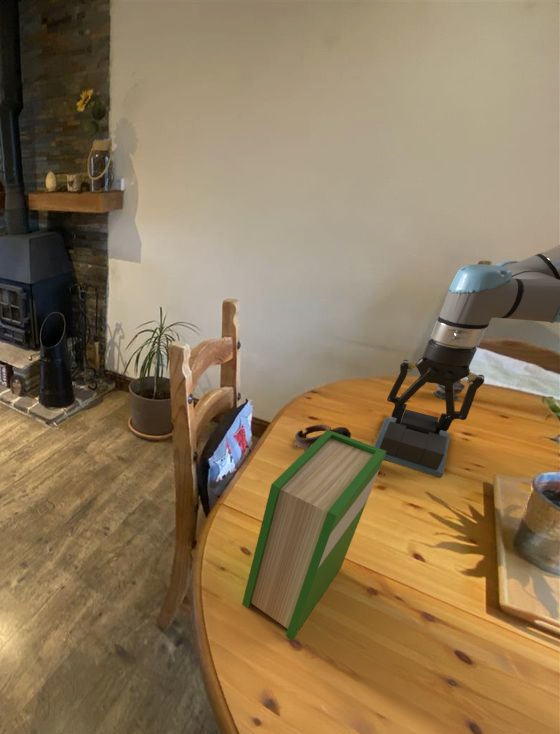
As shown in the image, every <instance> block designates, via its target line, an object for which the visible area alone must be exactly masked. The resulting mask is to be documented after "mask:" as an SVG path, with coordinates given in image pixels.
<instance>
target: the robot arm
mask: <svg viewBox="0 0 560 734" xmlns="http://www.w3.org/2000/svg"><path fill="white" fill-rule="evenodd" d="M446 294H447V295H446V296H445V299H444V302H443V305H442V308H441V310H440V313H439V315H438V317H437V320H436V321H435V324H434V327H433V329H432V332H431V334H430V338H431V339H428V341H427V344H426V346H425V349H424V351H423V354H422V356H421V357H420V358H418V360H417V361H416V360H415V361H414V360H413V361H409V360H408V359H403V360H402V361H401V363H400V365H399V374H398V376H397V378H396V380H395V382H394V384H393V385H392V388H391V389H390V392H389V393H388V396H387V397H386V401H387V402H389V403H392V404H393V405H394V408H393V410H392V413H391V415H392V417H394V418H397V419H396V422H395V423H398V424H399V423H400V421H401V418H402V417H403V414H404V412H405V409H407V405H408V404H407V402H408V401H409V400H410V399H411V398H412V397H413V396H414V395H415V394H416V393H417V392H418V391H419V390H420V389H421V388H422V387H423V386H425V384H427V383H428V384H436V385H437V384H439V385H442V386H445V395H446V400H445V413H443V412H441V414H440V417H439V418H438V423H437V427H436V431H435V434H439V432H440V430H442V431H447V432H448V431H449V429H450V426H451V425H452V422H453V421H454V420H460V421H466V419H468V415H469V413H470V410H471V407H472V405H473V402H474V399H475V396H476V393H477V391H478V389H479V388H481V386H482V385H483V384H484V383H485V375H484V374H476V373H474V372H471V369H470V365H471V363H472V361H473V359H474V358H475V355H476V353H477V350H478V348H477V347H478V346H480V344H481V342H482V339H483V337H484V335H485V333H486V332H487V331H486V330H487V329H488V327H489V325H490V322H491V321H492V319H495V318H496V319H506V320H521V321H532V322H545V323H550V324H555V323H558V324H559V323H560V244H558V245H555V246H553V247H551V248H549V249H546V250H544V251H542V252H539V253H537V254H534V255H532V256H530V257H527V258H525V259H523V260H519V261H516V260H508V261H502V262H499V263H497V264H483V263H481V264H480V263H476V264H475V263H474V264H467V265H464V266H462V267H460V268H459V269H458V271H457V272H456V274H455V276H454V278H453V280H452V282H451V284H450V286H449V287H448V291H447V293H446ZM414 368H417V370H418V373H419V374H420V375H419V376H418V377H417V379H416V380H415V381H414V382H412V384H411V385H410V386H409V387H408V388H407V389H406V390H405V391H404V392H403V393H402V394H401V395H400V396H397V394H399V391H400V389H401V387H402V385H403V384H404V382H405V380H406V377H407V376H408V372H409V373H411V372H412V371H413V370H414ZM464 378H467V381H466V383H467V384H468V387H467V390H466V392H465V395H464V398H463V401H462V404H461V407H460V410H456V403H455V401H456V400H455V401H454V383H455V382H457V381H459V380H461V381H462V380H463V379H464Z"/></svg>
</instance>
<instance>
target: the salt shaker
mask: <svg viewBox="0 0 560 734" xmlns="http://www.w3.org/2000/svg"><path fill="white" fill-rule="evenodd" d="M436 389H437V390H435V391H433V392H432V395H433V396H434V397H436V398H437V399H441V400H444V401H446V395H445V386H442V385H439V384H437V383H436ZM465 389H466V385H464V383H462V379H461V380H459V381H457V382H455V383H454V401H458V400H459V399H460V397H459V396H458V394H460V393H462V391H463V390H465Z"/></svg>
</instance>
